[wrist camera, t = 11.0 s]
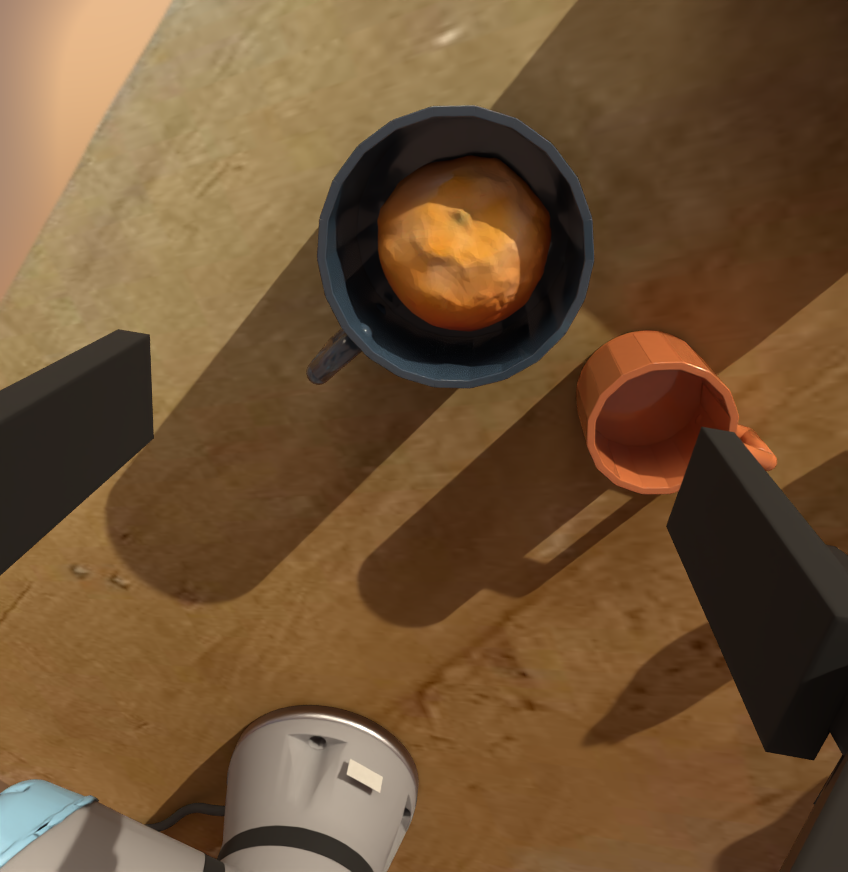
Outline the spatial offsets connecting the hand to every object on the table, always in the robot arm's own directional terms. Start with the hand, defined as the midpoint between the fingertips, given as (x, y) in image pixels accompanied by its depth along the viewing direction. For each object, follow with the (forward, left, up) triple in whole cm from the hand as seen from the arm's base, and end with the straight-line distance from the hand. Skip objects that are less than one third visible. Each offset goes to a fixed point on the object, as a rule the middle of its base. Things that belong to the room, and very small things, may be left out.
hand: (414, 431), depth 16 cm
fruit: (+1, +1, -22) cm, 22 cm away
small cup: (+4, -13, -22) cm, 26 cm away
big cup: (-1, +1, -22) cm, 22 cm away
